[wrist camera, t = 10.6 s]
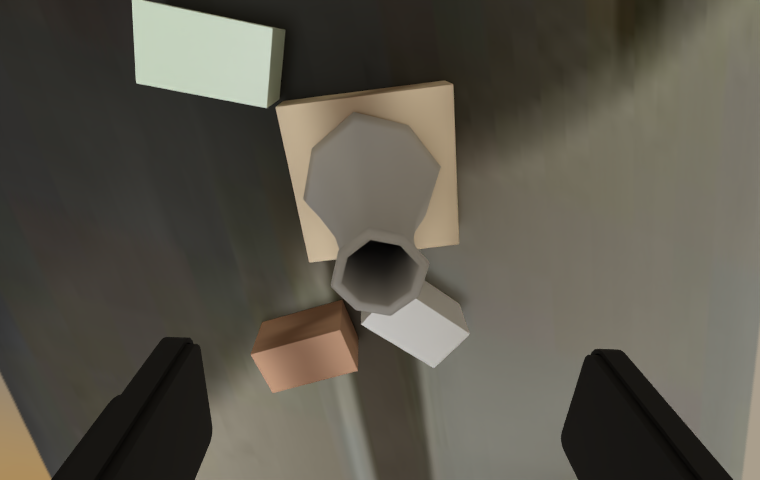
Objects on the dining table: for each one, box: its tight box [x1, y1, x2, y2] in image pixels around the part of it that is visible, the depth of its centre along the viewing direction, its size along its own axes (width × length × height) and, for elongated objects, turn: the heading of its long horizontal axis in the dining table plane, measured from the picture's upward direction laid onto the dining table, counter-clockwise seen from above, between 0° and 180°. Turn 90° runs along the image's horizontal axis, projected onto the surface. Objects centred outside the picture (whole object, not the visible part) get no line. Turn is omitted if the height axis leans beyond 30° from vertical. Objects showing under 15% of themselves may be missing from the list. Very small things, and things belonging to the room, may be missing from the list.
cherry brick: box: [251, 300, 358, 393], centre depth 28 cm, size 6×4×4 cm, turn 107°
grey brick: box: [361, 280, 470, 368], centre depth 28 cm, size 6×4×4 cm, turn 52°
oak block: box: [276, 80, 459, 263], centre depth 24 cm, size 9×9×3 cm
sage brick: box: [132, 0, 285, 108], centre depth 21 cm, size 6×4×4 cm, turn 79°
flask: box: [303, 112, 441, 316], centre depth 18 cm, size 7×7×10 cm
